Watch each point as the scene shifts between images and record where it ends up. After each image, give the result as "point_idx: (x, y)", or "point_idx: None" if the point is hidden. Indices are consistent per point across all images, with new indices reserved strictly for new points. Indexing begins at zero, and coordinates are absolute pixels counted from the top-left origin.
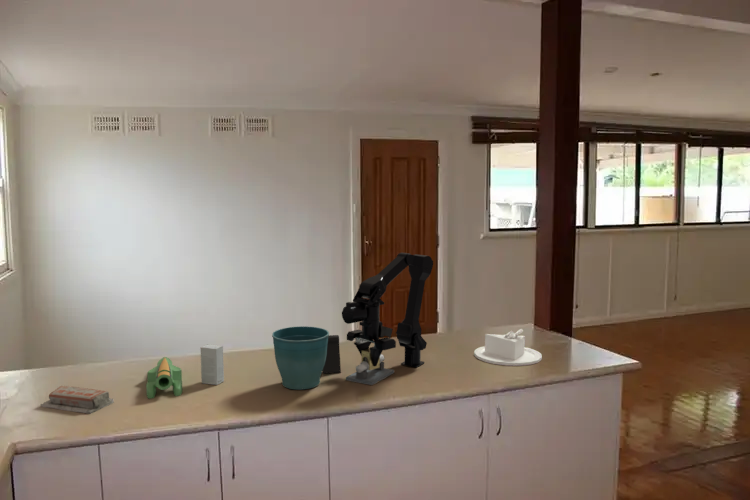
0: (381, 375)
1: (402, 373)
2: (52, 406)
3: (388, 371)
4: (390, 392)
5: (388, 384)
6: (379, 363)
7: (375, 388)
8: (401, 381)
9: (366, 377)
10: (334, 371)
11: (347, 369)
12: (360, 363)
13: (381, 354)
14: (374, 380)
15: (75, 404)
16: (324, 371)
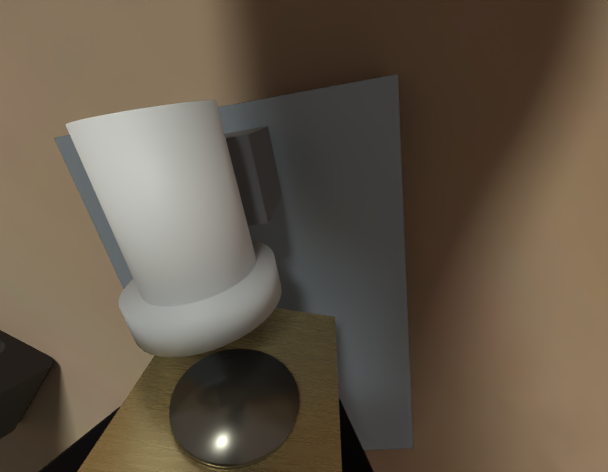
0: (385, 312)
1: (493, 20)
2: None
3: (372, 175)
4: (588, 457)
5: (507, 365)
6: (336, 356)
7: (460, 451)
8: (587, 258)
9: None
10: (30, 394)
11: (6, 280)
12: None
13: (101, 118)
14: (408, 420)
15: None
16: (5, 432)
